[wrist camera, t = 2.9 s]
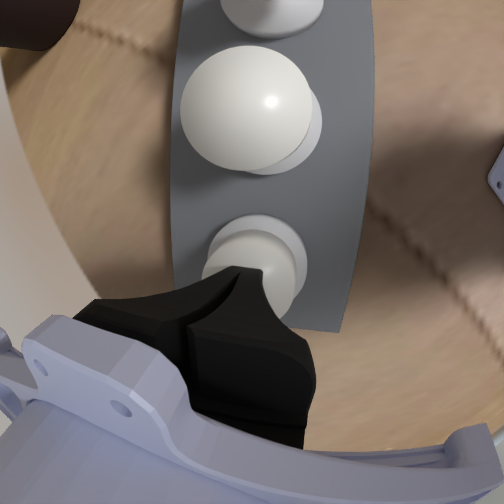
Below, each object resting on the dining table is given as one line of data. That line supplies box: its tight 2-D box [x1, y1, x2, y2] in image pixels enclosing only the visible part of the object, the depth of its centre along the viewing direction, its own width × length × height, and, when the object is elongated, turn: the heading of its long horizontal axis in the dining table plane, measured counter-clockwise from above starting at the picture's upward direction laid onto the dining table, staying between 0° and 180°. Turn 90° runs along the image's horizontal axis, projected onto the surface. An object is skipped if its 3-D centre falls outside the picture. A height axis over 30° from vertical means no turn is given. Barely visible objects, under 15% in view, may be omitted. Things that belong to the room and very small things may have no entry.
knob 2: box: [202, 229, 297, 319], centre depth 13 cm, size 4×4×2 cm
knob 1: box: [180, 46, 312, 171], centre depth 8 cm, size 4×4×2 cm
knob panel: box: [170, 0, 375, 333], centre depth 13 cm, size 22×10×3 cm, turn 177°
